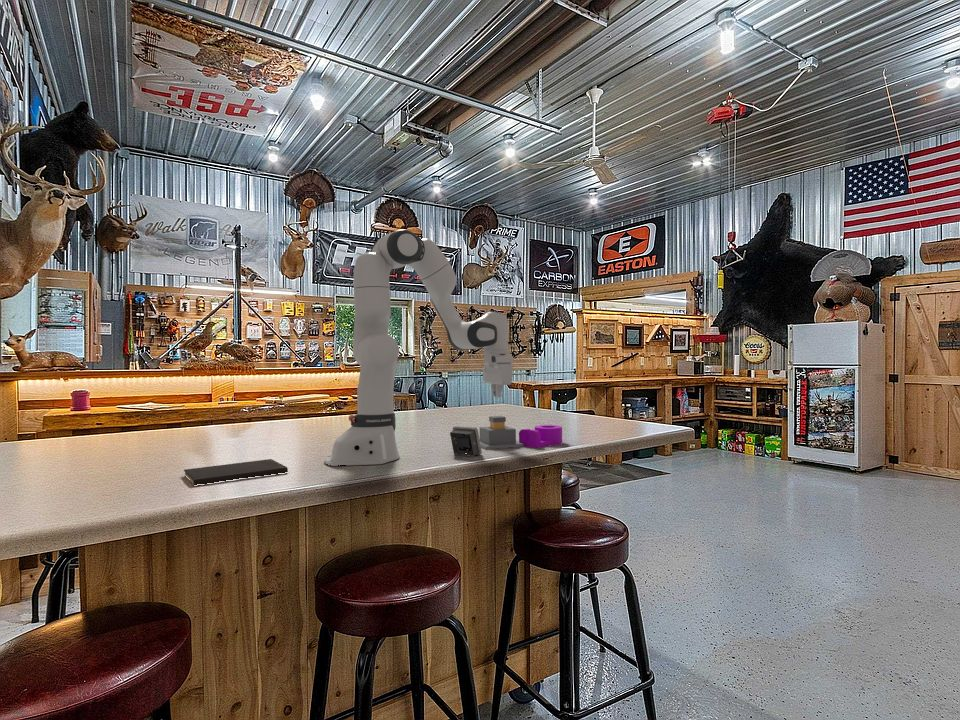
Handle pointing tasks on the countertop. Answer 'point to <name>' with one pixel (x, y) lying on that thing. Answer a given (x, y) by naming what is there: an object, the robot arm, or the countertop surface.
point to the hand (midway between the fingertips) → (497, 396)
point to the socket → (498, 438)
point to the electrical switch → (465, 440)
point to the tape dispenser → (541, 436)
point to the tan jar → (497, 422)
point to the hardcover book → (234, 471)
